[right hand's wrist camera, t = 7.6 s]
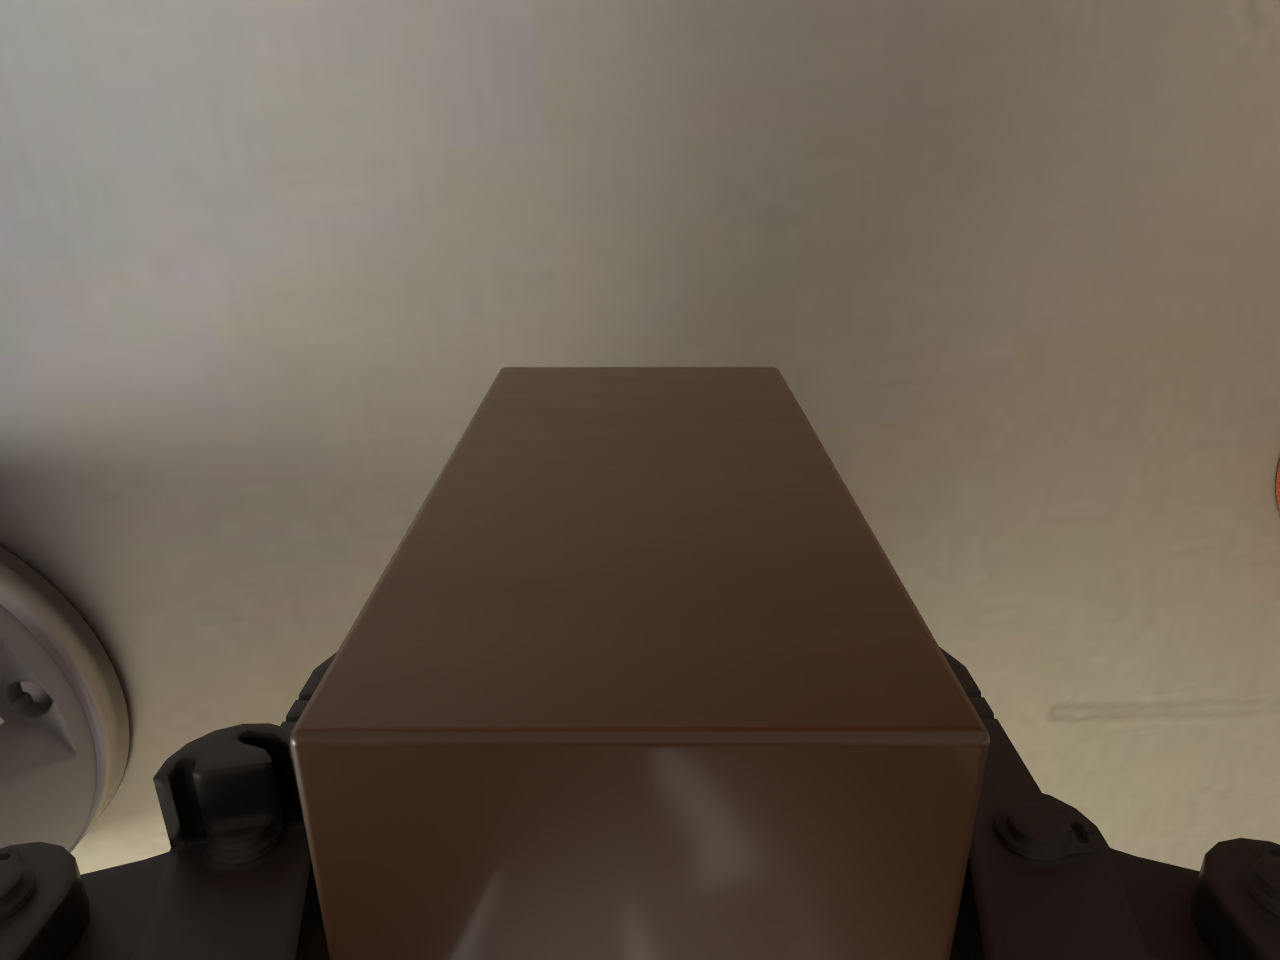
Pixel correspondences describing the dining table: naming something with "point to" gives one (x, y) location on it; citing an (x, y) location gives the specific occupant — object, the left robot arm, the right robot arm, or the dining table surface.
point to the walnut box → (639, 698)
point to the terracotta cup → (1278, 487)
